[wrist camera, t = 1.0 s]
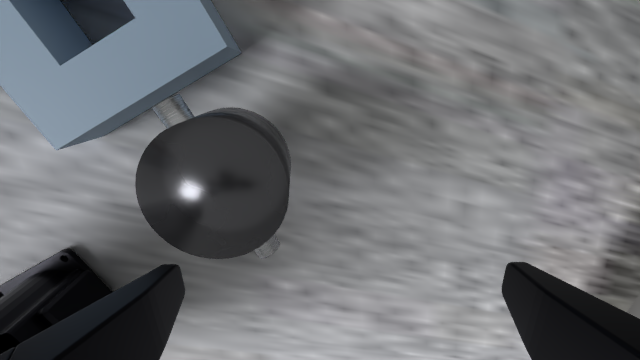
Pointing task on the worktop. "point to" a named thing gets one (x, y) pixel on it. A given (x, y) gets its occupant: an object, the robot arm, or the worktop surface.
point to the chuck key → (215, 181)
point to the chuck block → (104, 63)
